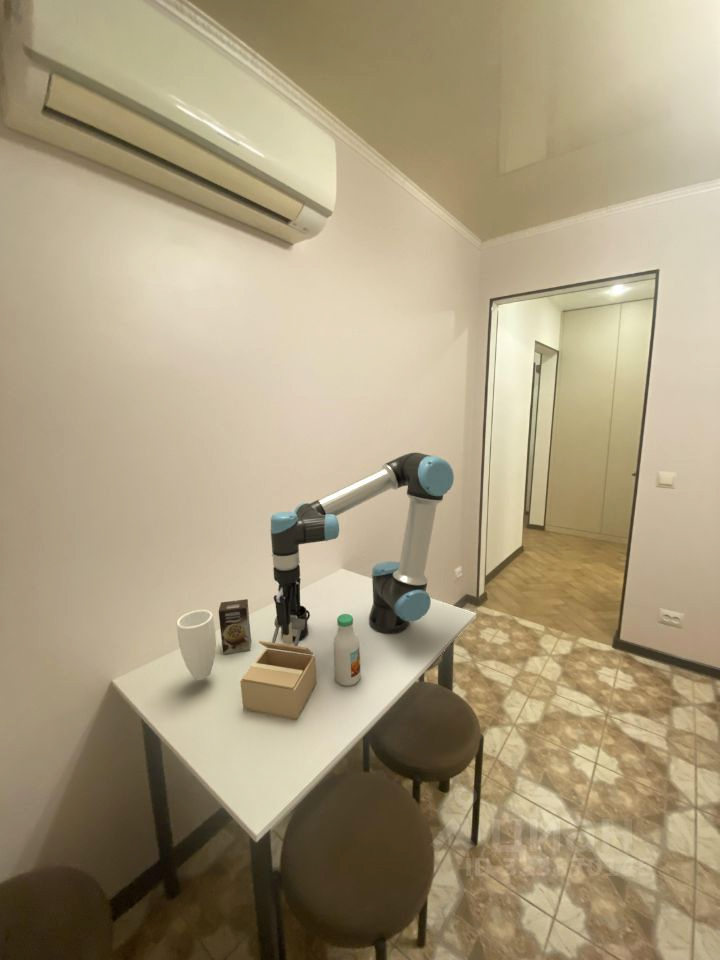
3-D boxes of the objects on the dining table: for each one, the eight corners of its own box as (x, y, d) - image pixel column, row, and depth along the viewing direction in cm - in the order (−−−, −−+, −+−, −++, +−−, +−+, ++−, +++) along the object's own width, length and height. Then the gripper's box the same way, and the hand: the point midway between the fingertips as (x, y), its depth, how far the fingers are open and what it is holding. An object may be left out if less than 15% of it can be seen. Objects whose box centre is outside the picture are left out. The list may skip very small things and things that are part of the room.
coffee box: (222, 655, 129) (217, 611, 126) (225, 643, 135) (220, 601, 132) (250, 651, 131) (246, 607, 127) (251, 639, 137) (247, 598, 134)
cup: (185, 677, 119) (176, 613, 115) (220, 667, 123) (213, 605, 119) (183, 700, 110) (173, 632, 105) (222, 689, 113) (214, 623, 109)
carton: (316, 682, 115) (314, 653, 113) (297, 720, 101) (294, 687, 100) (268, 674, 119) (265, 646, 117) (243, 709, 106) (239, 678, 104)
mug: (318, 630, 141) (317, 607, 140) (292, 645, 133) (290, 621, 131) (302, 620, 148) (300, 599, 146) (276, 635, 139) (274, 612, 137)
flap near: (313, 654, 113) (319, 625, 118) (305, 649, 108) (313, 619, 112) (267, 648, 117) (275, 620, 122) (258, 642, 112) (267, 613, 116)
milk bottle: (343, 690, 111) (339, 628, 107) (330, 675, 118) (327, 615, 114) (365, 679, 115) (363, 619, 111) (352, 665, 122) (349, 607, 118)
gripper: (286, 554, 120) (290, 623, 125) (260, 576, 105) (266, 653, 109) (309, 556, 118) (312, 625, 123) (286, 578, 103) (290, 657, 107)
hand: (290, 638), depth 116 cm, fingers open, 3 cm apart
